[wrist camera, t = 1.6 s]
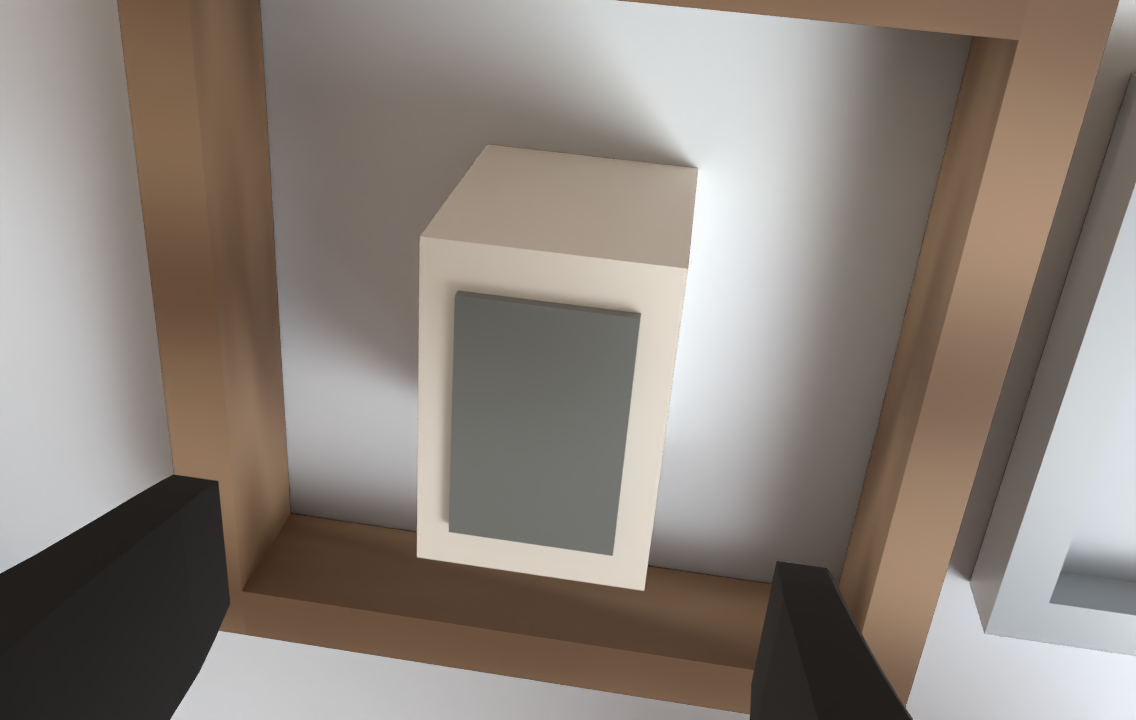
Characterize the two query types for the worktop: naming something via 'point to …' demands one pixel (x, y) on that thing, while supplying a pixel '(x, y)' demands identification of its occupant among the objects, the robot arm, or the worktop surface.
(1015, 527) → the tray
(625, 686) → the open case
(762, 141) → the worktop surface
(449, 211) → the block
